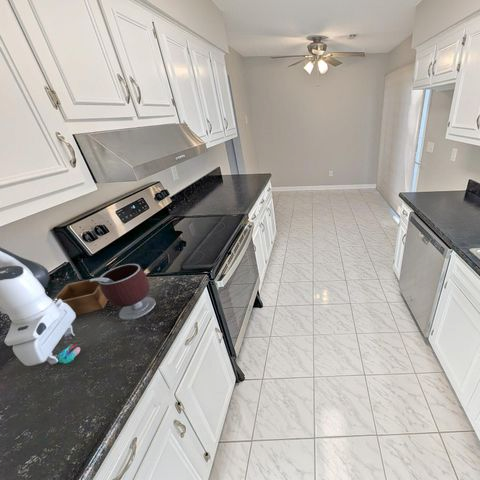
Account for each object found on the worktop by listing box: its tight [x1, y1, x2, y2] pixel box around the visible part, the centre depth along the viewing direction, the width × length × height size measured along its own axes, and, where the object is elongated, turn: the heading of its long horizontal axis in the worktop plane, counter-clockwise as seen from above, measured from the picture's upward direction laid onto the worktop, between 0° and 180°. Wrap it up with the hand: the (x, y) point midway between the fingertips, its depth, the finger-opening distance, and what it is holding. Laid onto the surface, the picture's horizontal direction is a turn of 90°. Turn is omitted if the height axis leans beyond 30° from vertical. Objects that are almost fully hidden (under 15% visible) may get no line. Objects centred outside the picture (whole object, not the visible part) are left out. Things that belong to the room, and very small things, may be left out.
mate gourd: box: [88, 263, 157, 321], centre depth 95 cm, size 16×14×20 cm
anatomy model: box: [57, 343, 81, 364], centre depth 80 cm, size 5×8×7 cm
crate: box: [53, 278, 109, 316], centre depth 104 cm, size 15×14×8 cm
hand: (63, 349), depth 80 cm, fingers open, 8 cm apart
